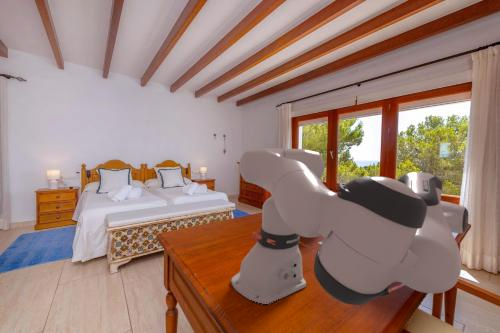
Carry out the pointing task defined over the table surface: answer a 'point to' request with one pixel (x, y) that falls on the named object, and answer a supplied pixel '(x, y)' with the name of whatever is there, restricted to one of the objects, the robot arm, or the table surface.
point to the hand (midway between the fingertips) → (365, 199)
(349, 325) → the table surface
